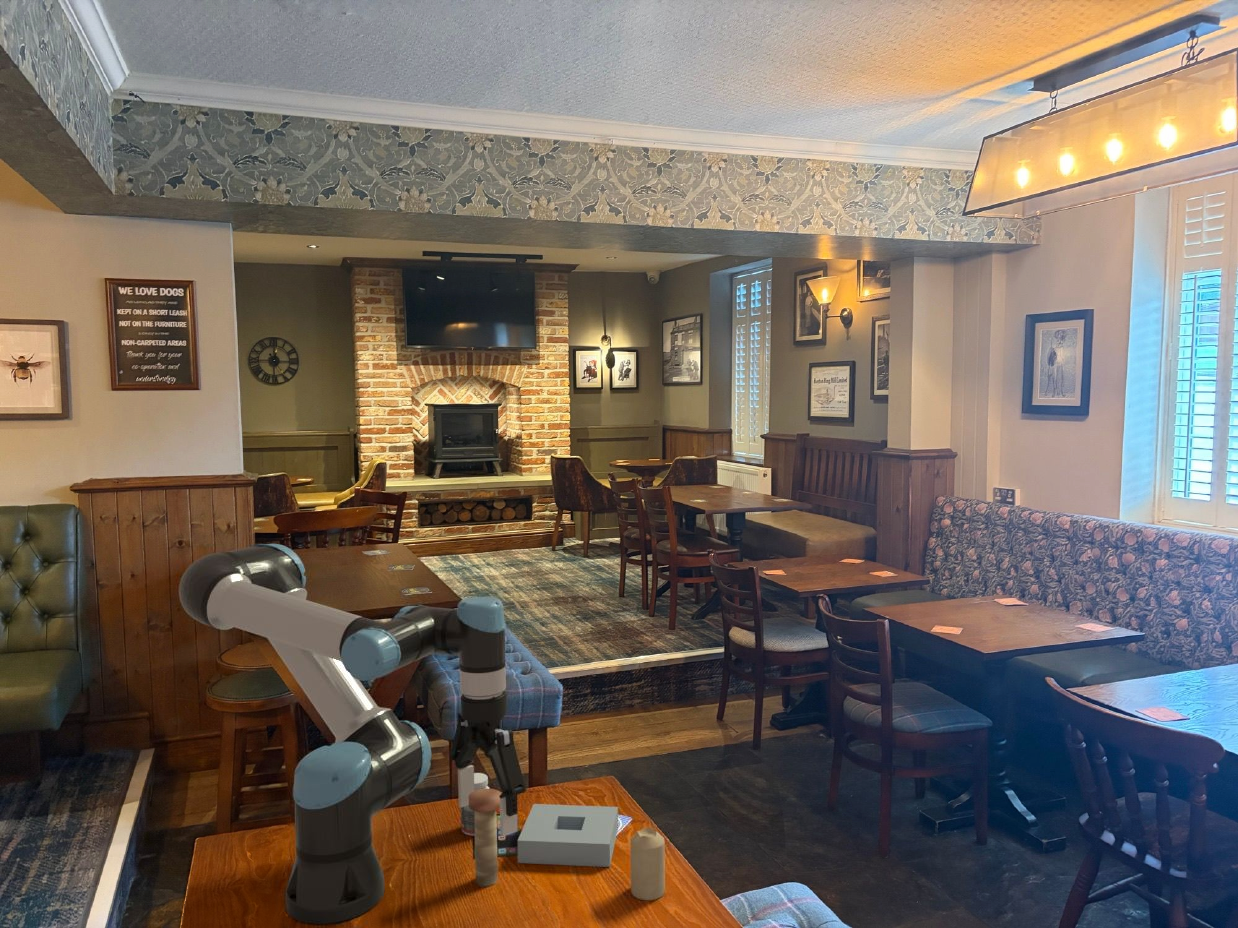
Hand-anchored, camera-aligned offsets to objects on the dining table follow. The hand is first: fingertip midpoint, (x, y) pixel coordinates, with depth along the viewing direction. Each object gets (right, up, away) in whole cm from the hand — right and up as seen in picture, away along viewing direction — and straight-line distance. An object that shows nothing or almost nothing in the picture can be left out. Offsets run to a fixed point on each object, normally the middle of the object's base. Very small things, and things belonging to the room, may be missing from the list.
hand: (487, 818), depth 143 cm
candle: (+27, -11, -3) cm, 29 cm away
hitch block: (+13, -10, +12) cm, 20 cm away
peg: (0, -11, +1) cm, 11 cm away
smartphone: (-1, -10, +16) cm, 19 cm away
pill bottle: (-5, -10, +18) cm, 21 cm away
